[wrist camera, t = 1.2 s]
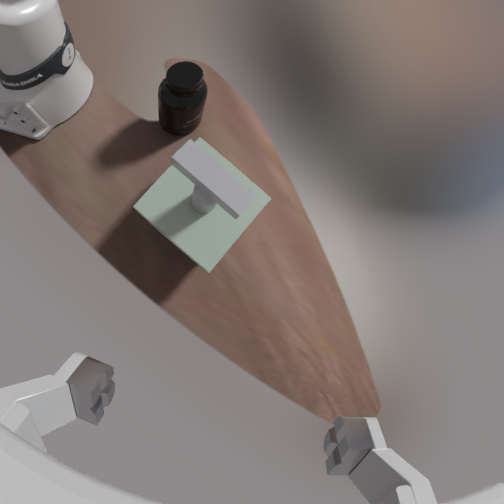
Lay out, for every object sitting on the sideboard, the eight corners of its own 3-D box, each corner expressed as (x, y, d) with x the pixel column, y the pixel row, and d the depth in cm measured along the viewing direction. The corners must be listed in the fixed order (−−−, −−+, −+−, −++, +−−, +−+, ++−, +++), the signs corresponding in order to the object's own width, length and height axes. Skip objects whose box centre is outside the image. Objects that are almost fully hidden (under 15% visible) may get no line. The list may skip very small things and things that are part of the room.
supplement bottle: (195, 140, 43) (204, 100, 32) (153, 132, 42) (149, 91, 30) (205, 105, 44) (216, 61, 33) (165, 97, 43) (166, 52, 31)
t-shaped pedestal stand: (135, 210, 35) (118, 182, 23) (198, 145, 38) (209, 95, 26) (206, 272, 37) (222, 273, 25) (264, 203, 40) (303, 175, 28)
